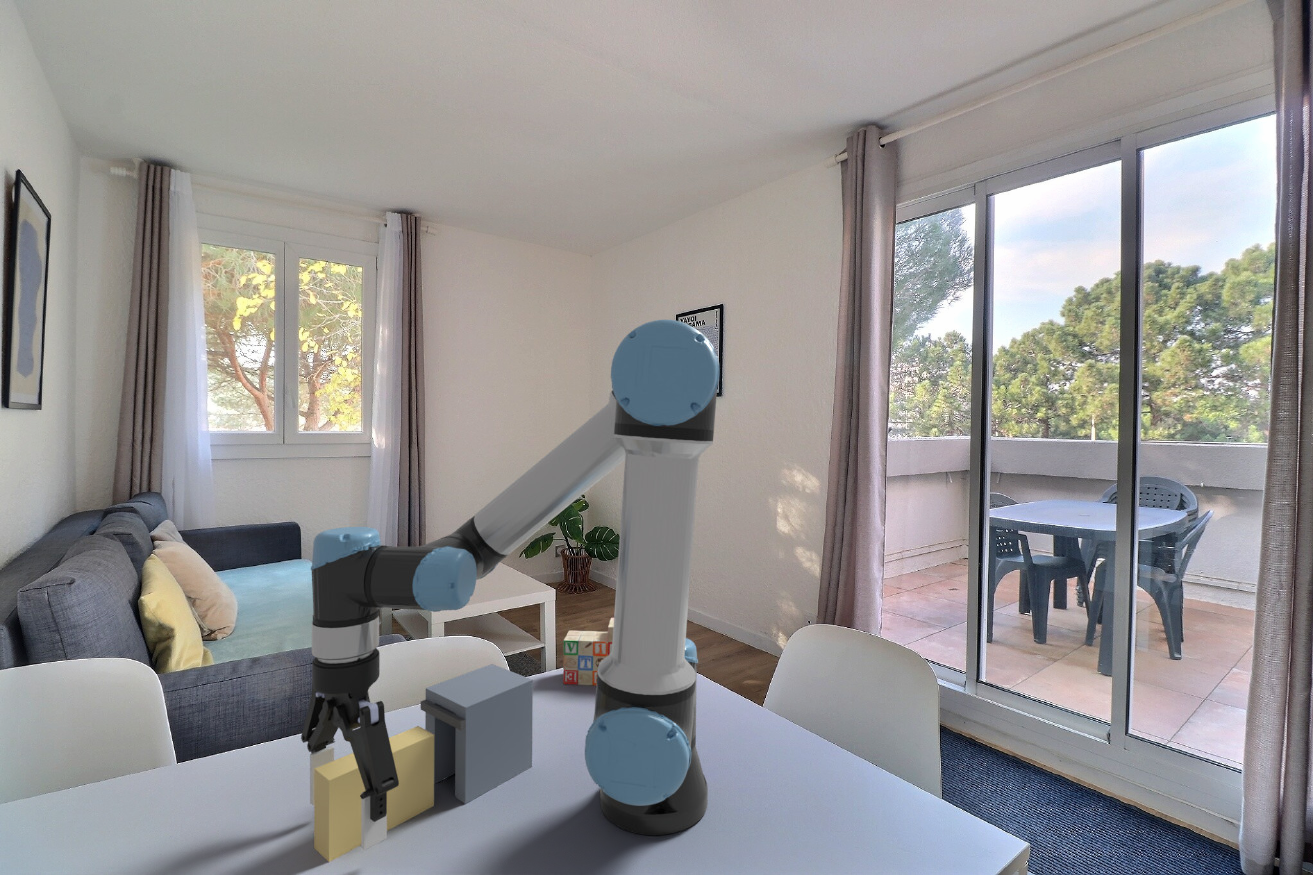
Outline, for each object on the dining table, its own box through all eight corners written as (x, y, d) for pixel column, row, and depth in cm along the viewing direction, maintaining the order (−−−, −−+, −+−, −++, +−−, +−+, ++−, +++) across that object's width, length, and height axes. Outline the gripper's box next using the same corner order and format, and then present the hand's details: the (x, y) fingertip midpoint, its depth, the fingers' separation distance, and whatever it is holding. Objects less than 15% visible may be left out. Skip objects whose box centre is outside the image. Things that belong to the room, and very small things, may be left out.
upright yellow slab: (433, 806, 85) (434, 734, 84) (329, 862, 73) (329, 780, 73) (417, 795, 87) (418, 725, 87) (314, 848, 76) (314, 768, 76)
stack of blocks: (562, 685, 124) (562, 625, 124) (568, 673, 131) (568, 615, 131) (667, 688, 123) (667, 628, 123) (668, 676, 130) (668, 618, 129)
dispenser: (532, 766, 94) (532, 679, 94) (460, 806, 84) (460, 709, 84) (491, 745, 101) (492, 663, 100) (420, 780, 90) (420, 689, 90)
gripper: (429, 667, 72) (429, 846, 72) (331, 624, 87) (331, 771, 87) (366, 689, 66) (366, 883, 66) (272, 638, 81) (273, 796, 82)
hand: (346, 820), depth 77 cm, fingers open, 13 cm apart
